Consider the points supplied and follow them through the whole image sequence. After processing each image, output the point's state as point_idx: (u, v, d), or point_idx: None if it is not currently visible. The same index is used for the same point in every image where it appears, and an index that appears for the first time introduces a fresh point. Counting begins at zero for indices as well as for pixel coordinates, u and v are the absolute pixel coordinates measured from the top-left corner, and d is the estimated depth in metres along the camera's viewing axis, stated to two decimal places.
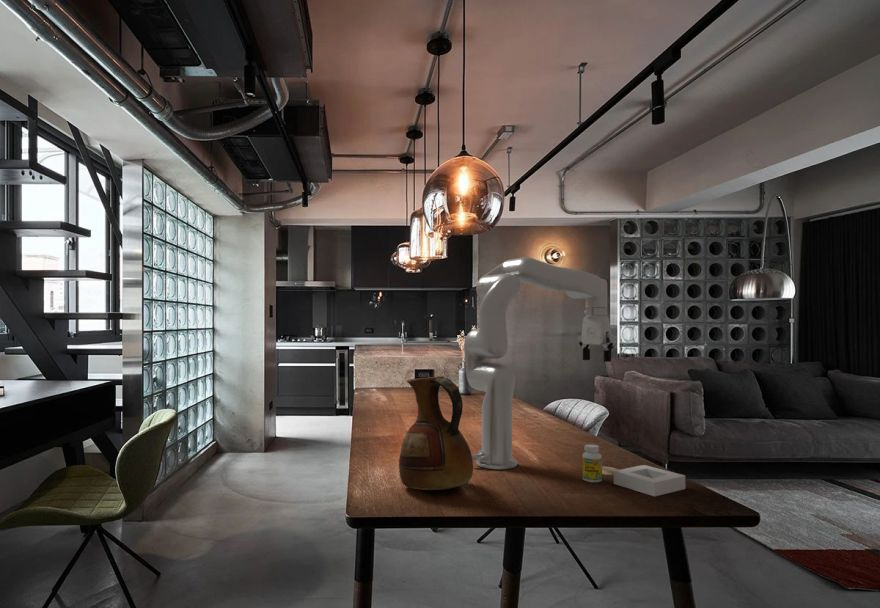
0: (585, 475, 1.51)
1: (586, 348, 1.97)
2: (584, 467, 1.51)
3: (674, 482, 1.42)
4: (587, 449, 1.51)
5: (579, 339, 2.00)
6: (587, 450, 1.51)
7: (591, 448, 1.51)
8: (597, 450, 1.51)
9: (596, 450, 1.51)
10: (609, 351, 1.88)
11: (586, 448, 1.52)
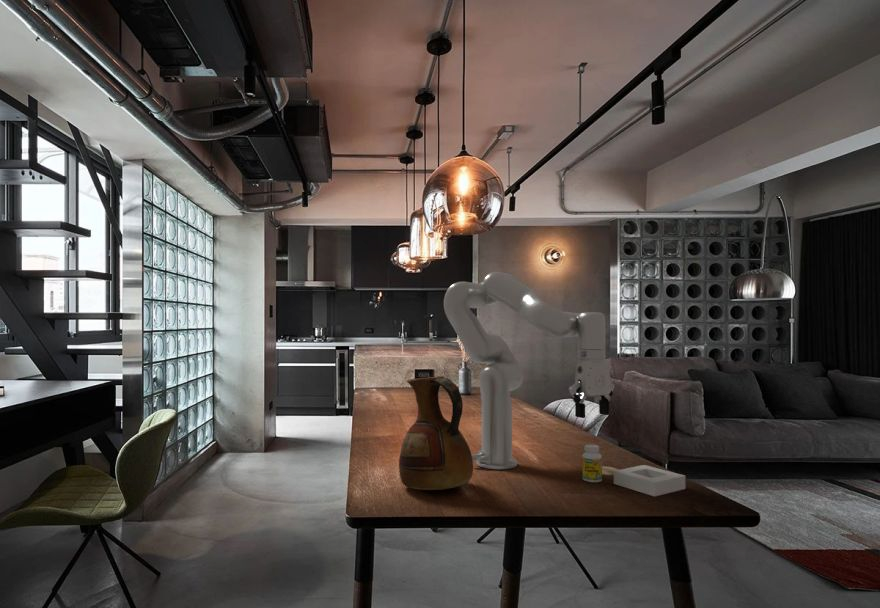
0: (585, 475, 1.51)
1: None
2: (584, 467, 1.51)
3: (674, 482, 1.42)
4: (587, 449, 1.51)
5: (574, 391, 1.49)
6: (587, 450, 1.51)
7: (591, 448, 1.51)
8: (597, 450, 1.51)
9: (596, 450, 1.51)
10: None
11: (586, 448, 1.52)
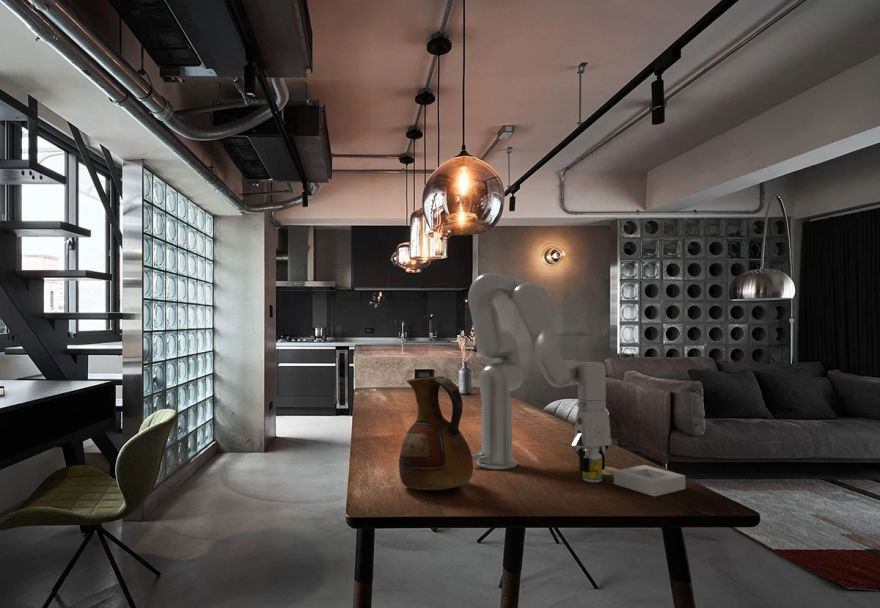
0: (585, 475, 1.51)
1: None
2: None
3: (674, 482, 1.42)
4: None
5: (577, 447, 1.49)
6: None
7: (591, 448, 1.51)
8: (597, 450, 1.51)
9: (596, 450, 1.51)
10: None
11: None
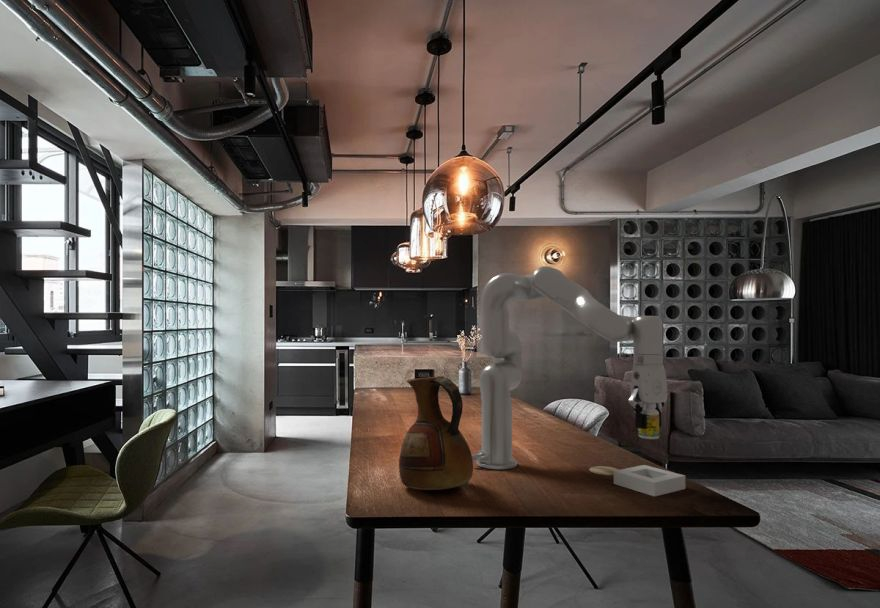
0: (642, 432, 1.46)
1: None
2: None
3: (674, 482, 1.42)
4: None
5: (634, 402, 1.44)
6: None
7: (648, 404, 1.46)
8: (654, 406, 1.46)
9: (653, 406, 1.46)
10: None
11: None
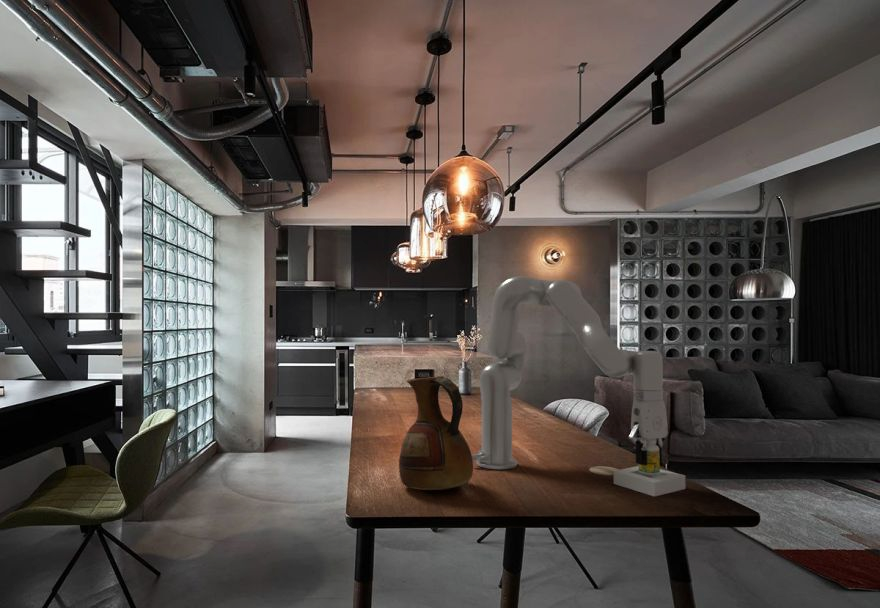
0: (643, 468, 1.45)
1: None
2: None
3: (674, 482, 1.42)
4: None
5: (635, 439, 1.43)
6: None
7: (648, 440, 1.45)
8: (655, 442, 1.46)
9: (653, 442, 1.45)
10: None
11: None
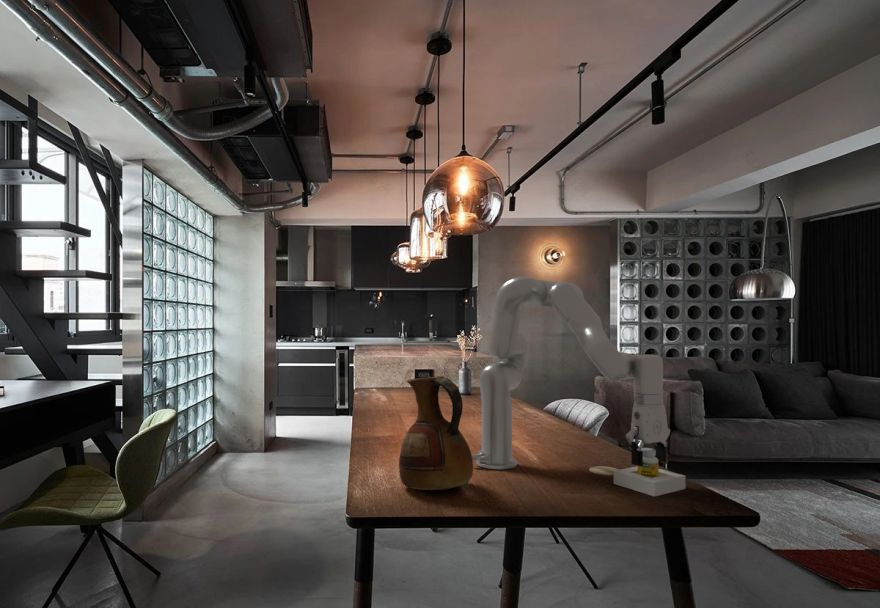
0: None
1: None
2: (640, 471, 1.46)
3: (674, 482, 1.42)
4: (644, 453, 1.46)
5: (631, 438, 1.43)
6: (643, 454, 1.46)
7: (648, 452, 1.45)
8: (654, 454, 1.45)
9: (653, 454, 1.45)
10: None
11: None
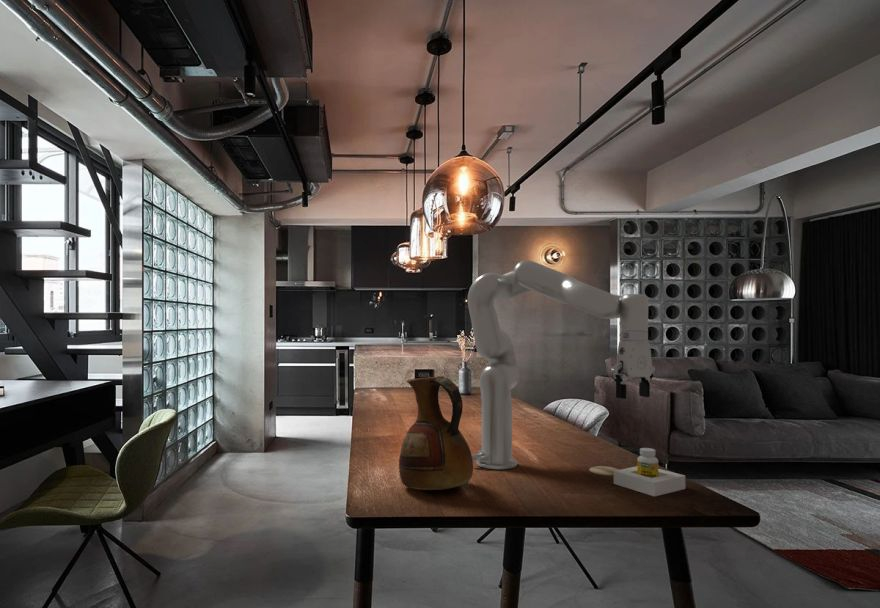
0: None
1: None
2: (640, 471, 1.46)
3: (674, 482, 1.42)
4: (644, 453, 1.46)
5: (616, 371, 1.49)
6: (643, 454, 1.46)
7: (648, 452, 1.45)
8: (654, 454, 1.45)
9: (653, 454, 1.45)
10: None
11: (642, 452, 1.46)
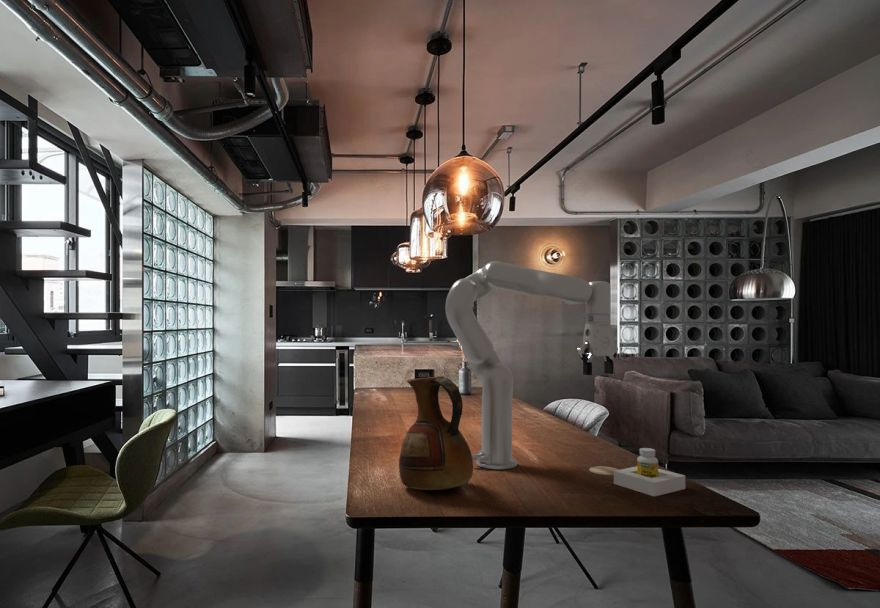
0: None
1: None
2: (640, 472, 1.46)
3: (674, 482, 1.42)
4: (644, 453, 1.46)
5: (582, 351, 1.66)
6: (643, 454, 1.46)
7: (648, 452, 1.45)
8: (654, 454, 1.46)
9: (653, 454, 1.45)
10: None
11: (642, 452, 1.46)
